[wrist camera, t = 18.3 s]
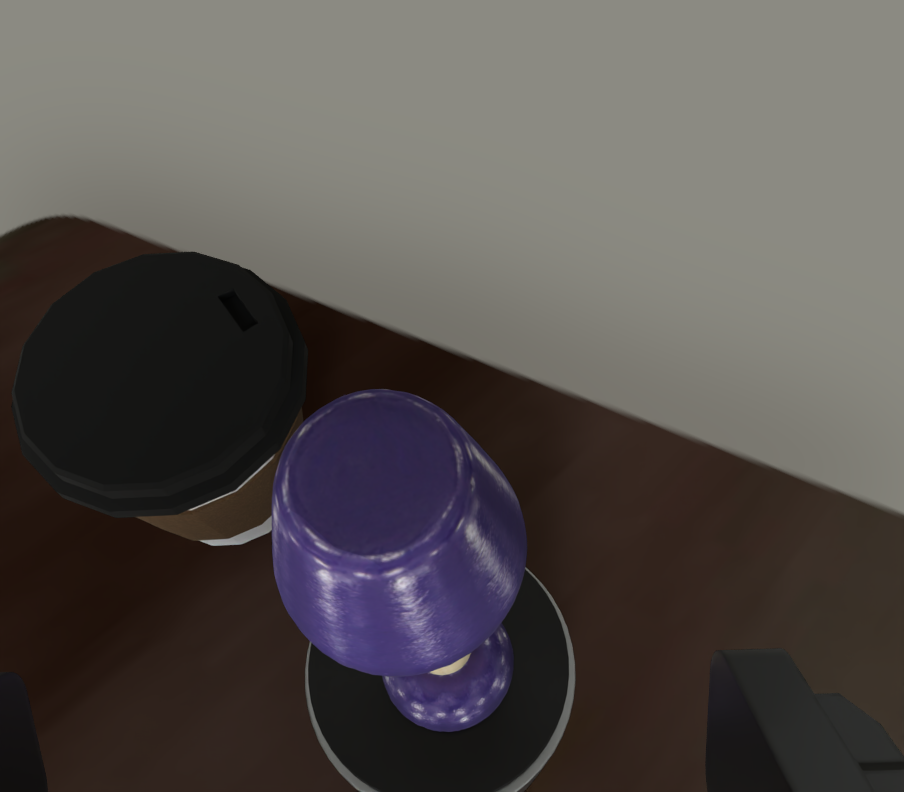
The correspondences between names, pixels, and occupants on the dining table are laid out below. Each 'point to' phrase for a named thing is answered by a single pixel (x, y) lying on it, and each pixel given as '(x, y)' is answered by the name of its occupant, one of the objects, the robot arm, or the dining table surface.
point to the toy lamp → (401, 552)
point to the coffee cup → (165, 395)
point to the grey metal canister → (459, 752)
